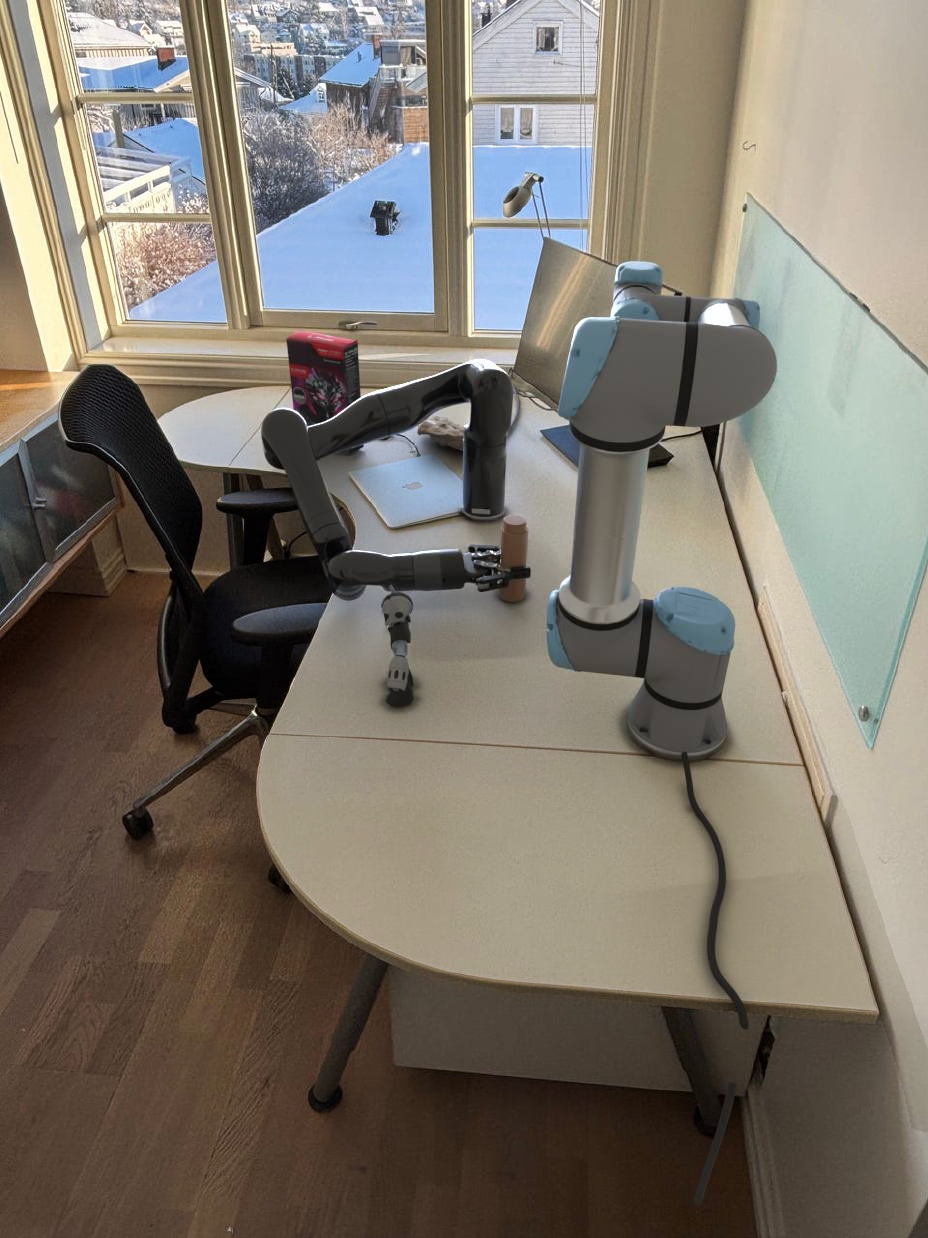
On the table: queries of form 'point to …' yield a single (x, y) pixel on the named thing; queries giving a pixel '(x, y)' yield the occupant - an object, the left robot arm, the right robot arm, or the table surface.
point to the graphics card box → (323, 376)
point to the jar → (514, 554)
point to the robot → (398, 647)
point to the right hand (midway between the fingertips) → (616, 484)
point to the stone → (442, 431)
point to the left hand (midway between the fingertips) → (526, 564)
